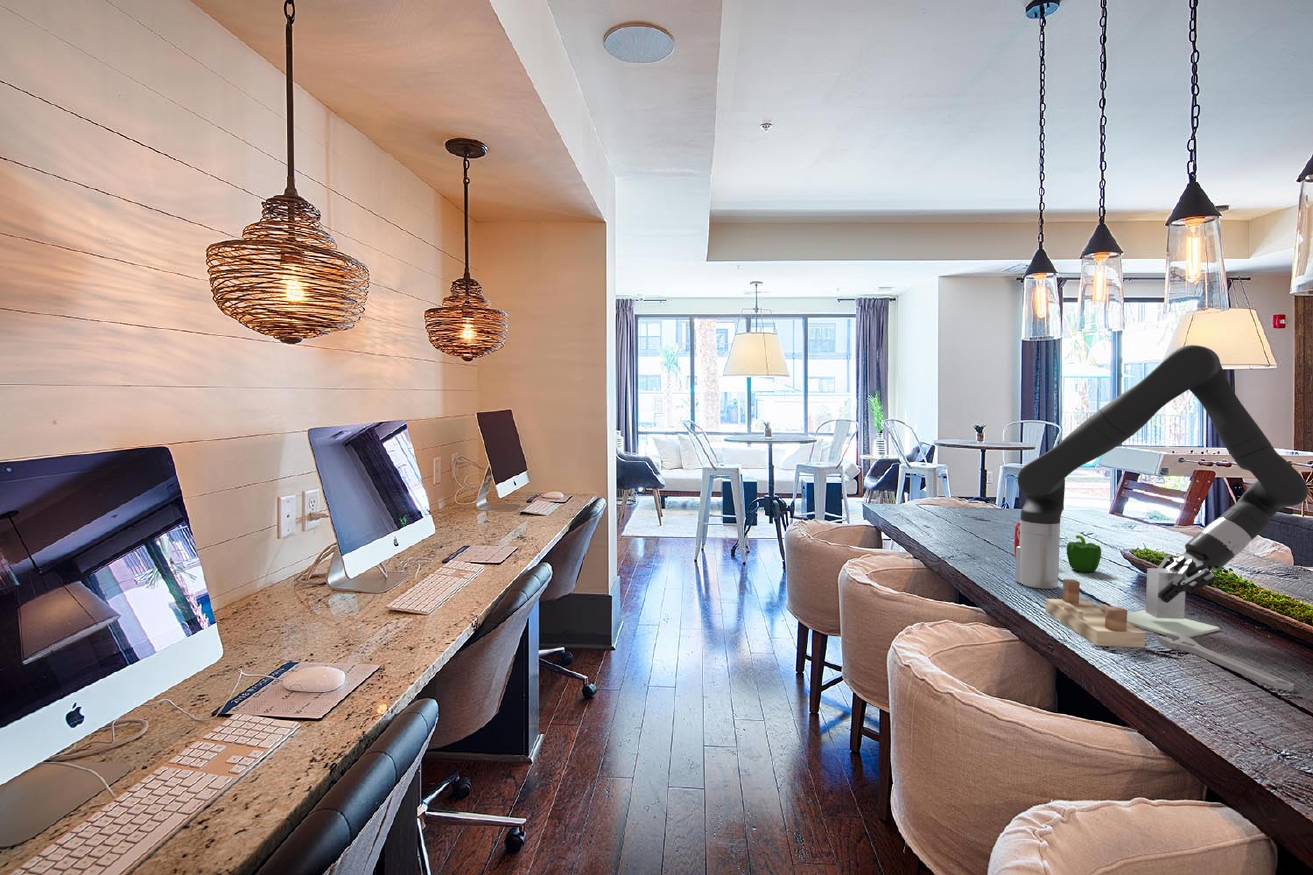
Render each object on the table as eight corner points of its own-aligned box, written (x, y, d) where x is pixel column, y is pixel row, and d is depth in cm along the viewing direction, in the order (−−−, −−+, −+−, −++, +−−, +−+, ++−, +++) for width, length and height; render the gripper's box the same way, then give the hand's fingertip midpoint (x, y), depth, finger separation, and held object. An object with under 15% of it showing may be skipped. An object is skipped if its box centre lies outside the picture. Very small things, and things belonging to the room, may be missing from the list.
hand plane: (1045, 611, 156) (1046, 577, 156) (1086, 612, 155) (1087, 578, 155) (1096, 645, 134) (1098, 606, 134) (1144, 647, 133) (1146, 608, 133)
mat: (1111, 619, 151) (1111, 616, 151) (1149, 611, 156) (1149, 608, 156) (1180, 639, 138) (1180, 636, 138) (1219, 630, 144) (1219, 627, 144)
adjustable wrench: (1298, 694, 114) (1299, 684, 113) (1262, 695, 113) (1262, 684, 113) (1178, 640, 139) (1179, 632, 138) (1148, 640, 138) (1149, 632, 138)
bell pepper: (1105, 574, 189) (1106, 540, 188) (1073, 573, 191) (1074, 538, 190) (1092, 567, 197) (1093, 534, 197) (1061, 566, 199) (1063, 533, 198)
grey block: (1145, 612, 149) (1147, 568, 149) (1171, 613, 149) (1173, 568, 148) (1156, 618, 145) (1158, 572, 145) (1184, 618, 145) (1186, 573, 144)
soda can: (1043, 563, 202) (1044, 524, 201) (1018, 562, 203) (1019, 523, 203) (1035, 558, 209) (1036, 520, 208) (1010, 557, 210) (1011, 519, 210)
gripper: (1183, 525, 152) (1124, 575, 154) (1229, 537, 138) (1164, 593, 140) (1207, 548, 152) (1147, 599, 154) (1256, 563, 138) (1190, 619, 140)
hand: (1155, 596), depth 147 cm, fingers closed on grey block, 4 cm apart
